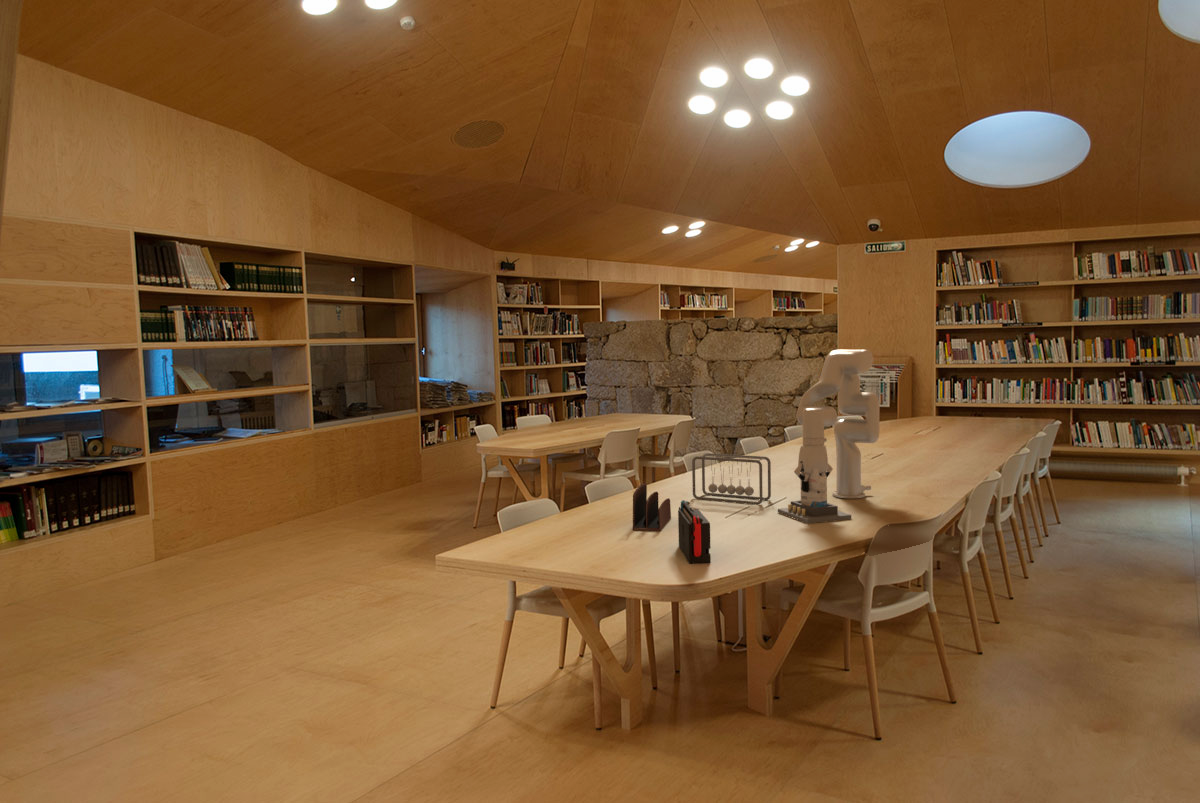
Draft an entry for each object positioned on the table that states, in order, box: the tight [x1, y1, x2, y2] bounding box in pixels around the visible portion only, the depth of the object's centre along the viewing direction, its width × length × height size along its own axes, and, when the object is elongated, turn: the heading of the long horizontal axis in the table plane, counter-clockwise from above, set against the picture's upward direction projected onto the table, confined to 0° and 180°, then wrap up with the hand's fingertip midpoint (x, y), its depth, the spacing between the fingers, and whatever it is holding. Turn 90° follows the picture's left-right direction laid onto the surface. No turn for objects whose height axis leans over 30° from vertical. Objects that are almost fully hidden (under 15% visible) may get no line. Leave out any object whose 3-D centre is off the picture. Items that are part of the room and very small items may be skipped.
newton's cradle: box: [691, 453, 772, 505], centre depth 329 cm, size 30×10×18 cm, turn 58°
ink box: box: [800, 469, 828, 508], centre depth 296 cm, size 8×5×15 cm, turn 39°
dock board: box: [777, 499, 852, 524], centre depth 296 cm, size 18×20×4 cm
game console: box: [677, 499, 712, 565], centre depth 248 cm, size 28×6×15 cm, turn 3°
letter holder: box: [632, 483, 672, 532], centre depth 289 cm, size 10×20×14 cm, turn 164°
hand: (813, 490), depth 296 cm, fingers closed on ink box, 6 cm apart
